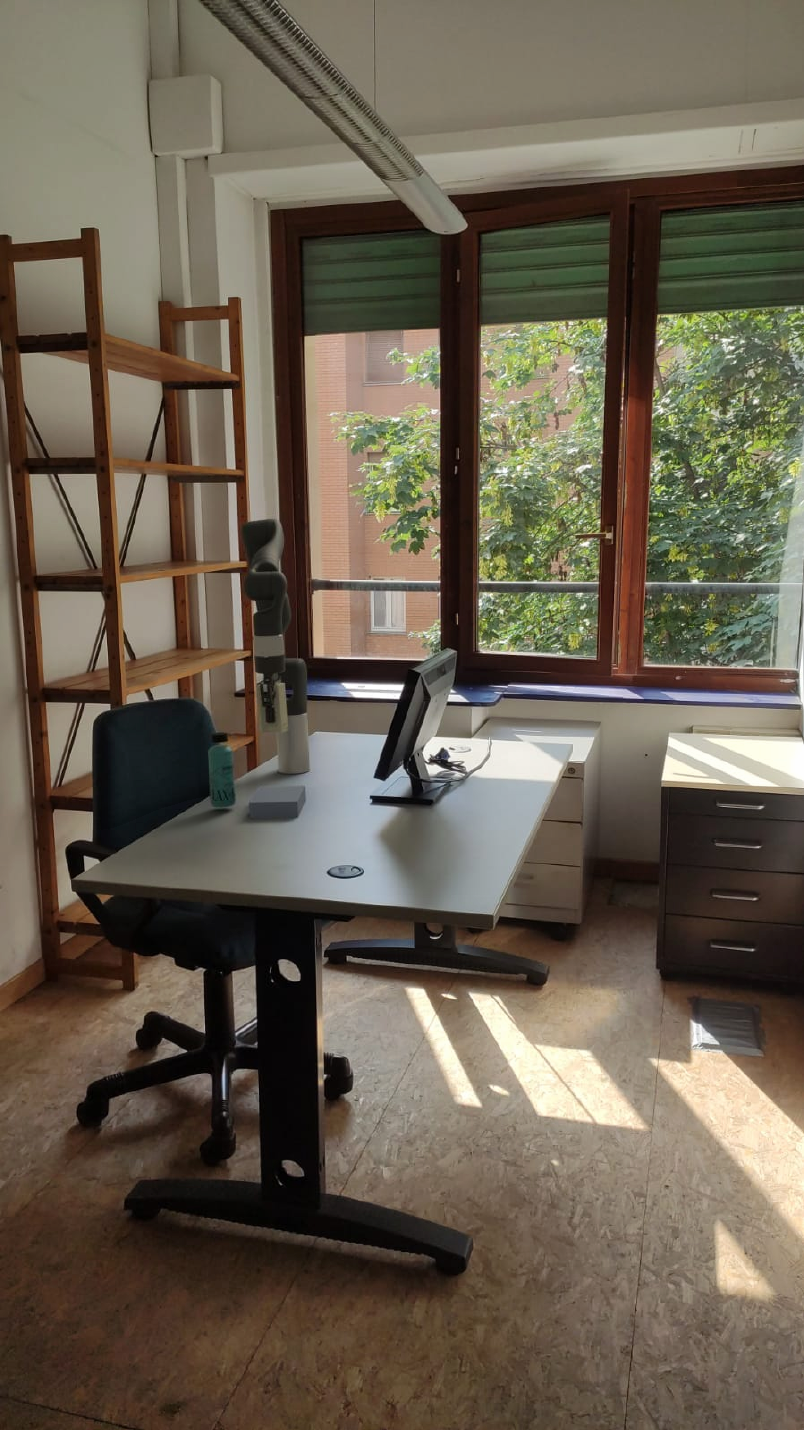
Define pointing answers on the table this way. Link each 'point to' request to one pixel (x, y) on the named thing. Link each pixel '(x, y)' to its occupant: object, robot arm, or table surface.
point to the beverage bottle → (221, 772)
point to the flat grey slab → (277, 802)
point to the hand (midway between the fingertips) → (272, 720)
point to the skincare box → (280, 711)
